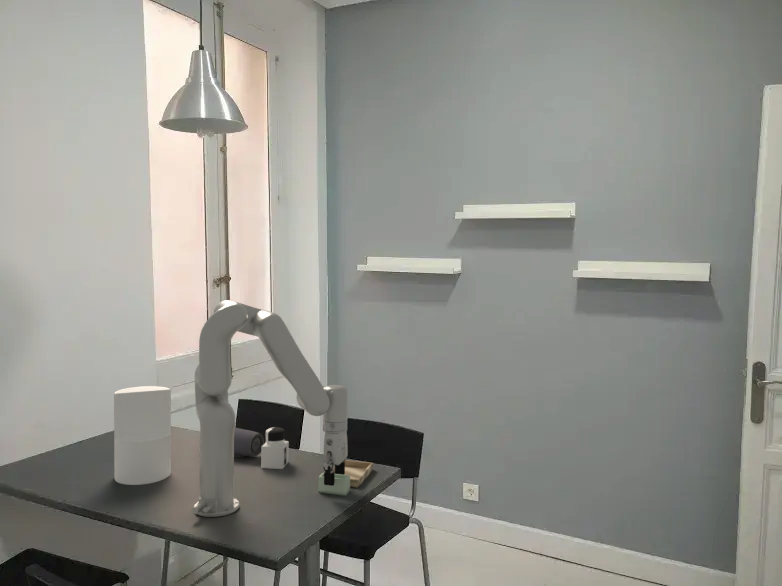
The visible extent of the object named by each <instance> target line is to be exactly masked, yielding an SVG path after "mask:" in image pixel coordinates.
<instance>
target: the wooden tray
mask: <svg viewBox="0 0 782 586" xmlns="http://www.w3.org/2000/svg"><path fill="white" fill-rule="evenodd" d="M373 471H374V462H368V461H361V460H360V461H359V460H349V459H345V474H344V475H350V488H355V489H357V488H358V489H359V487H360V486H361V485H362V484H363V483H365V482H364V481H365V480H366V479H367V478H368V477H369V476H370V474H371V473H372V472H373ZM333 472H335V467H334V471H333Z"/></svg>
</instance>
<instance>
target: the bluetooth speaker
mask: <svg viewBox="0 0 782 586" xmlns="http://www.w3.org/2000/svg"><path fill="white" fill-rule="evenodd" d="M264 444H265V439H264V436H263V434H262V433H259V432H257V431H253V430H249V429H243V428H240V427H235V434H234V458H244V457H257V456H259V455H260V454H261V447H262V446H263V445H264Z"/></svg>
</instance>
